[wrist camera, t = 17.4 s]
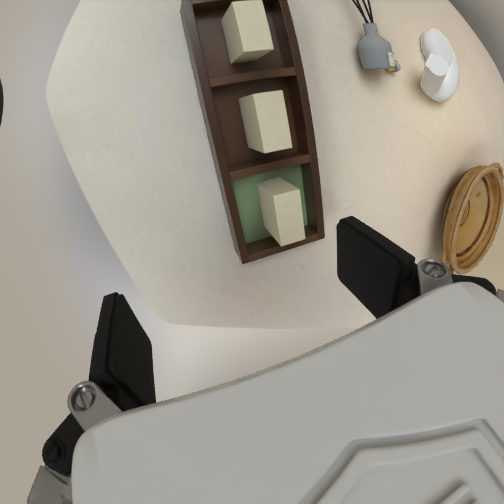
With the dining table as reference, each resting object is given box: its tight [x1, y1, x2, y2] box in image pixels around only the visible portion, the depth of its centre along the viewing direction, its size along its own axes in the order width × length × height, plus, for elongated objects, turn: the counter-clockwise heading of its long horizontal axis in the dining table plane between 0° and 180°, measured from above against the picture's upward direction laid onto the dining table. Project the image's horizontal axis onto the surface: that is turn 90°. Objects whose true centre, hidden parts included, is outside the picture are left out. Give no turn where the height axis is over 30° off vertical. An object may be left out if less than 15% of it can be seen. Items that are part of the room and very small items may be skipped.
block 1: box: [221, 0, 274, 64], centre depth 21 cm, size 3×6×6 cm, turn 12°
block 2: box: [238, 90, 292, 153], centre depth 26 cm, size 3×6×6 cm, turn 12°
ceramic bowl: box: [442, 163, 504, 274], centre depth 43 cm, size 30×24×8 cm
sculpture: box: [420, 29, 459, 102], centre depth 27 cm, size 12×15×8 cm
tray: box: [180, 0, 325, 264], centre depth 28 cm, size 11×32×4 cm, turn 12°
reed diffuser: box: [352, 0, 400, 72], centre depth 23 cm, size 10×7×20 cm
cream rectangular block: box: [256, 177, 305, 246], centre depth 31 cm, size 3×6×6 cm, turn 11°
